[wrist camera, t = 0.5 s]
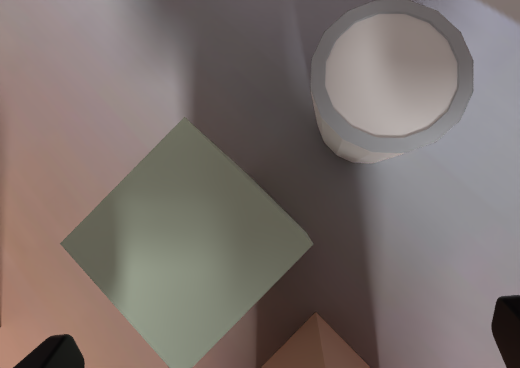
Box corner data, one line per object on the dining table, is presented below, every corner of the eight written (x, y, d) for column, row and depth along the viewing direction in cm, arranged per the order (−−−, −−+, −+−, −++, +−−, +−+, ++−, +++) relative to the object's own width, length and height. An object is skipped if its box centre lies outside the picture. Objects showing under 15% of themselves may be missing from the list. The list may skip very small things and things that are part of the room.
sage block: (306, 232, 23) (313, 244, 10) (247, 292, 23) (180, 379, 10) (247, 174, 24) (184, 117, 11) (189, 232, 24) (60, 243, 11)
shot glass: (285, 100, 24) (279, 51, 17) (382, 41, 24) (416, -33, 17) (345, 195, 23) (364, 184, 16) (446, 135, 23) (510, 97, 16)
